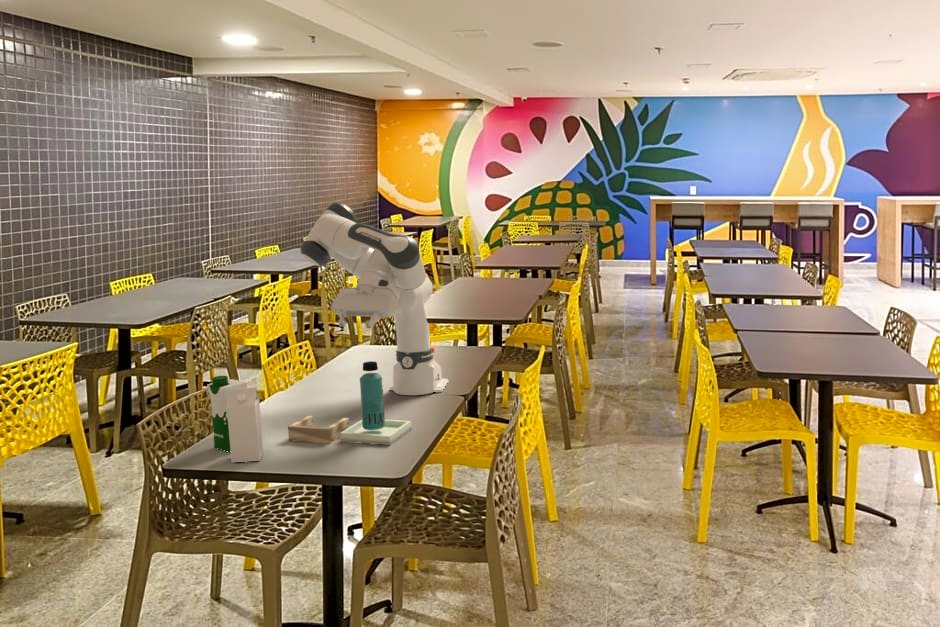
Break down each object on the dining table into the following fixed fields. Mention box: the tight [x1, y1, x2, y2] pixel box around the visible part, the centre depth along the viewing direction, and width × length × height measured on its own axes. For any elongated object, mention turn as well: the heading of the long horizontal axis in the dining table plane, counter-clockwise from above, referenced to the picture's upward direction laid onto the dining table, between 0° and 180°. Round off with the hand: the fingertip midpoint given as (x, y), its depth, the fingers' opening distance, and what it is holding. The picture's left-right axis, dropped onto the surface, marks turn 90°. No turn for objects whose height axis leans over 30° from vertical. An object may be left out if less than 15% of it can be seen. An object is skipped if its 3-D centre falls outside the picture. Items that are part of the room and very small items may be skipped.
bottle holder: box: [287, 415, 350, 444], centre depth 246 cm, size 12×13×4 cm
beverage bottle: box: [359, 361, 386, 430], centre depth 244 cm, size 6×7×20 cm
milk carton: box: [227, 386, 264, 463], centre depth 228 cm, size 7×7×19 cm
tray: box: [339, 419, 413, 446], centre depth 245 cm, size 15×15×2 cm
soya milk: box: [206, 375, 248, 453], centre depth 238 cm, size 9×9×20 cm
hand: (354, 326), depth 251 cm, fingers open, 8 cm apart
